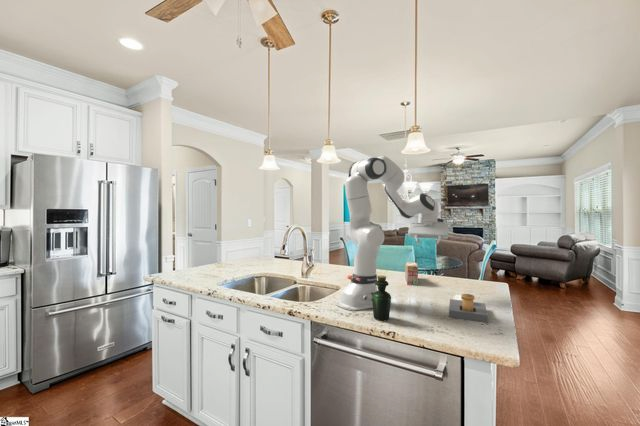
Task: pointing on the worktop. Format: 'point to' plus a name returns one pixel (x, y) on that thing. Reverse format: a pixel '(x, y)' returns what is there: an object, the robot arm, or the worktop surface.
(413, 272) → the stack of blocks
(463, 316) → the gray peg hole board
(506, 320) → the worktop surface
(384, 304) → the potion bottle
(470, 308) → the mushroom head peg
